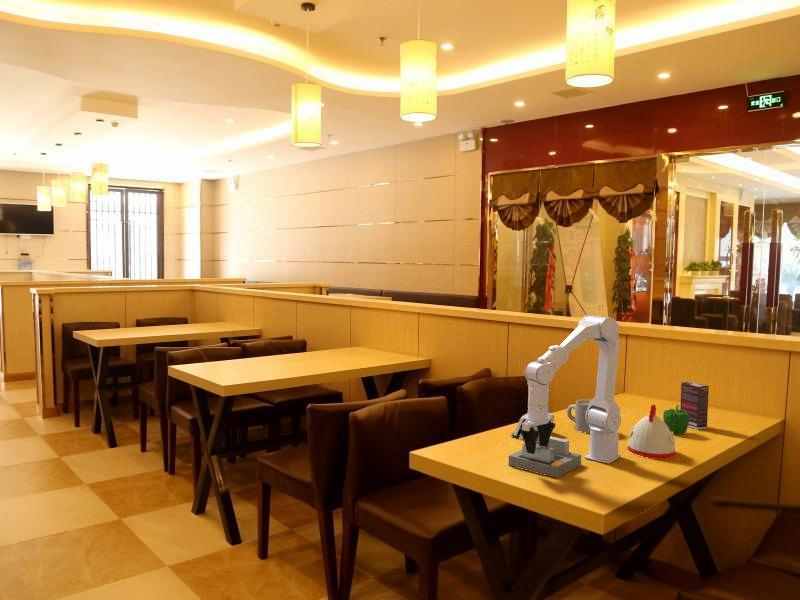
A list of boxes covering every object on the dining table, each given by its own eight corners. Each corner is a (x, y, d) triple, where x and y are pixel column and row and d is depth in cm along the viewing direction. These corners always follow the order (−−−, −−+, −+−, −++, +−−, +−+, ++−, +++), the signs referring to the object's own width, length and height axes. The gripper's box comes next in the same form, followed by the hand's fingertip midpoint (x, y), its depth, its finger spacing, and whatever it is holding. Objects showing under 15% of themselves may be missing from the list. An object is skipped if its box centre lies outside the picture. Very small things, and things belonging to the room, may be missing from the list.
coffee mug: (609, 430, 221) (610, 403, 220) (594, 435, 215) (594, 407, 214) (577, 422, 231) (578, 396, 231) (561, 427, 225) (562, 400, 224)
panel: (526, 465, 184) (526, 442, 183) (553, 472, 178) (554, 448, 177) (521, 467, 182) (522, 444, 181) (549, 474, 176) (550, 450, 175)
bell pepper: (681, 437, 213) (682, 409, 212) (658, 432, 219) (659, 404, 219) (693, 433, 218) (694, 405, 218) (670, 428, 225) (671, 401, 224)
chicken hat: (677, 450, 200) (679, 404, 198) (671, 461, 188) (673, 413, 187) (632, 443, 207) (633, 398, 206) (624, 454, 195) (625, 407, 194)
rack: (534, 453, 195) (534, 431, 194) (581, 464, 184) (581, 441, 184) (508, 465, 183) (509, 442, 182) (556, 478, 173) (557, 453, 172)
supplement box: (707, 429, 224) (709, 385, 223) (697, 430, 222) (699, 386, 221) (688, 423, 232) (690, 381, 231) (678, 424, 230) (680, 382, 229)
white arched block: (539, 428, 223) (547, 404, 220) (549, 435, 220) (558, 411, 217) (509, 436, 213) (518, 411, 209) (519, 444, 209) (528, 418, 206)
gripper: (538, 397, 187) (537, 441, 188) (513, 406, 176) (512, 453, 177) (559, 401, 182) (558, 446, 183) (535, 410, 171) (534, 458, 172)
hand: (537, 450), depth 180 cm, fingers open, 7 cm apart
